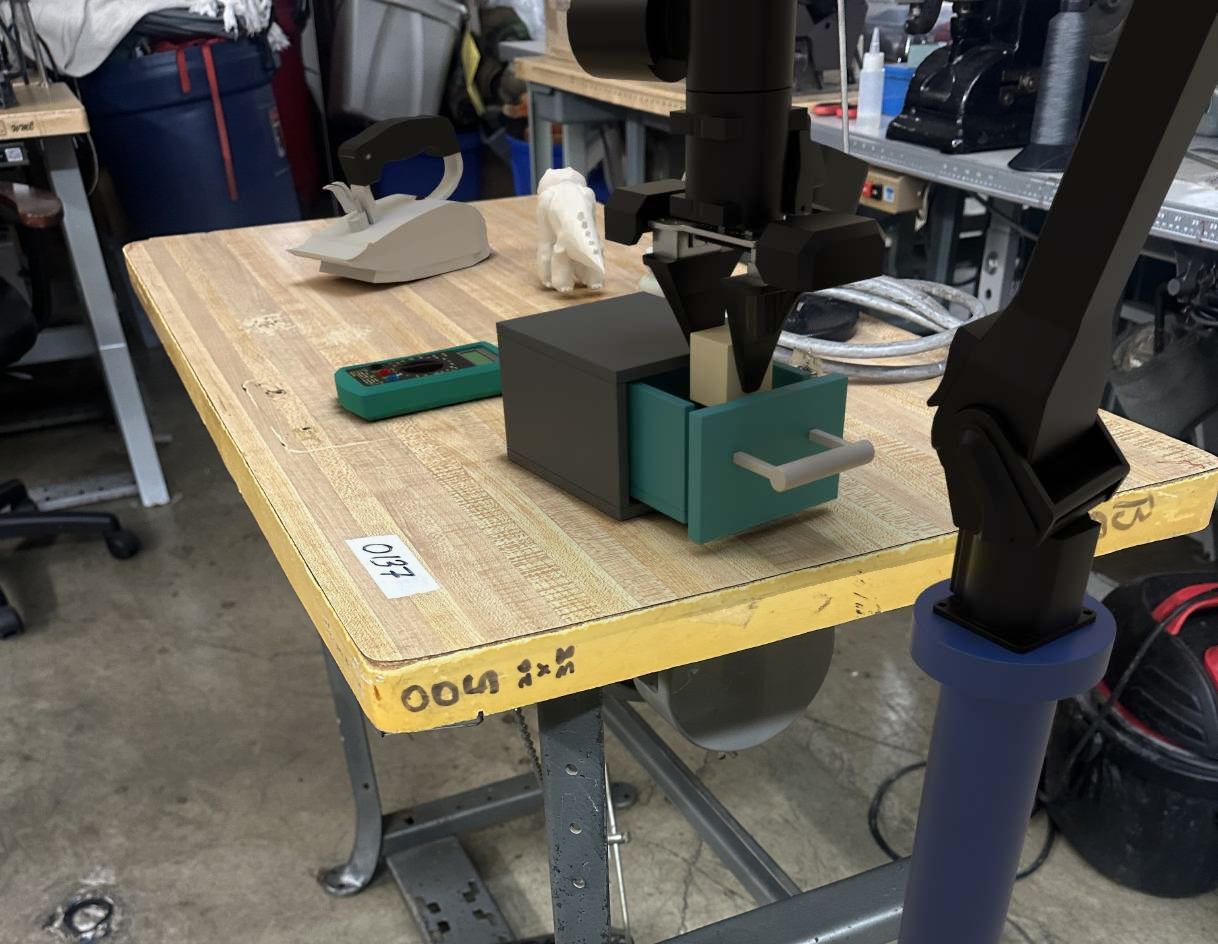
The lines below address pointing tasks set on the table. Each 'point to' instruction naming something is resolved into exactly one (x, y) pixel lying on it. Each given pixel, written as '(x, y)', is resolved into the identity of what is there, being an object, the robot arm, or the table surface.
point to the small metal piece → (806, 362)
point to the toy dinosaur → (568, 232)
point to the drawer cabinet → (584, 390)
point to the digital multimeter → (420, 381)
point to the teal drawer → (738, 450)
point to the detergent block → (717, 368)
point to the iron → (398, 210)
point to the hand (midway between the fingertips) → (730, 384)
